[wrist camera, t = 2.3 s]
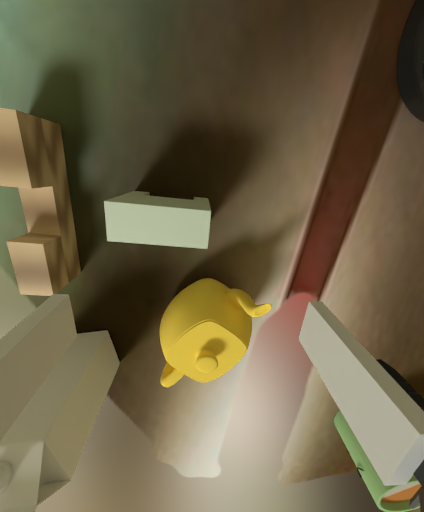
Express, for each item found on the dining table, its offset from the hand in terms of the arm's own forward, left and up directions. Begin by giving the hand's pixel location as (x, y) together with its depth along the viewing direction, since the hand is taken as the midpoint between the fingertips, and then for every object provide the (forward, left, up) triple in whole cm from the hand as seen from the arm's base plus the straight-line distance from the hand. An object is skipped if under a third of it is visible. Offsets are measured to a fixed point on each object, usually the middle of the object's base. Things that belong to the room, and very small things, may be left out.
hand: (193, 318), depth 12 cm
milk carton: (+21, -16, -18) cm, 32 cm away
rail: (-2, -18, -18) cm, 25 cm away
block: (-3, -4, -18) cm, 18 cm away
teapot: (+11, +2, -18) cm, 21 cm away
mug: (+38, +37, -18) cm, 57 cm away
